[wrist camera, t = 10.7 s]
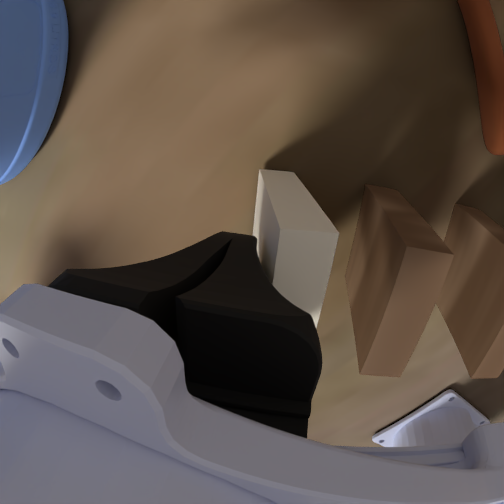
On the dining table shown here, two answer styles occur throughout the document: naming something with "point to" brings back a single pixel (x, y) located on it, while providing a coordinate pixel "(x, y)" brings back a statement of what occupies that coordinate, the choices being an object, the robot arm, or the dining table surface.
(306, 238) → the cream domino
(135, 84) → the dining table surface
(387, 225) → the walnut domino
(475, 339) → the walnut domino
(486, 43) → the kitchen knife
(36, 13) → the water jug
